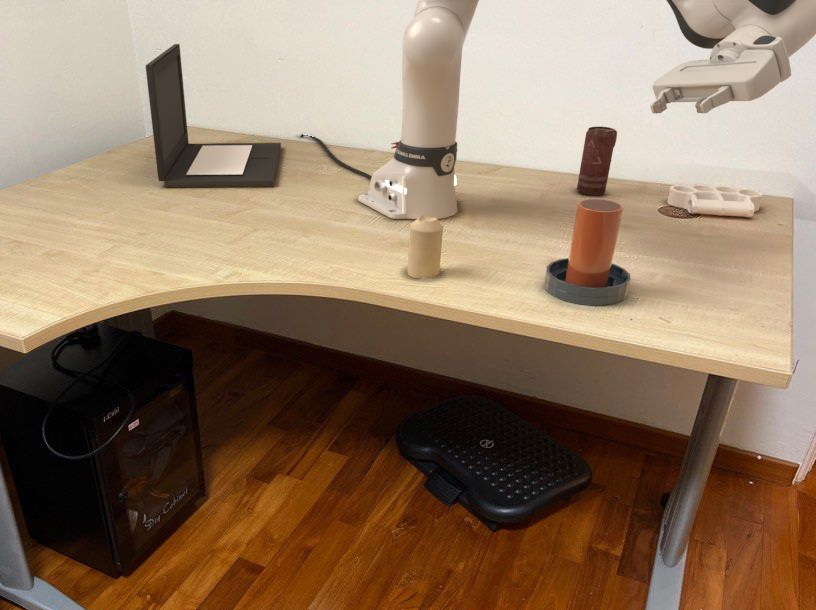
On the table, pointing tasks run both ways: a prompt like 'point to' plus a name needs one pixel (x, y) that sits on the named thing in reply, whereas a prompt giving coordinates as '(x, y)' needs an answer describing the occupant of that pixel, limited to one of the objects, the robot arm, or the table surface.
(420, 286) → the table surface
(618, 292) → the bowl
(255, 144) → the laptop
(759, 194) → the white brass knuckles
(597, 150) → the can
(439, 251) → the candle
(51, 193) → the table surface
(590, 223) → the tumbler
